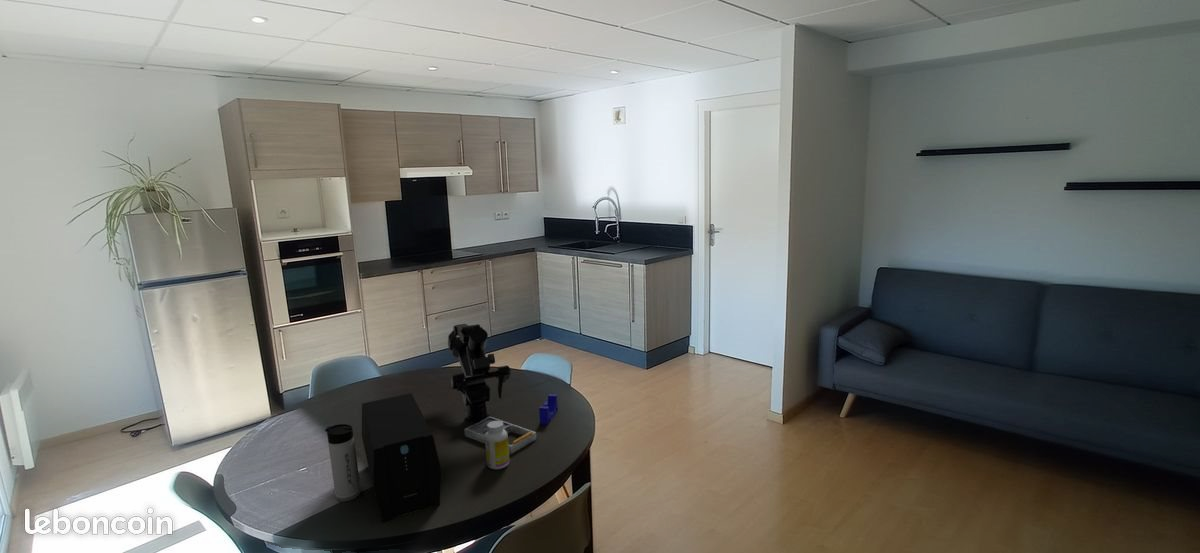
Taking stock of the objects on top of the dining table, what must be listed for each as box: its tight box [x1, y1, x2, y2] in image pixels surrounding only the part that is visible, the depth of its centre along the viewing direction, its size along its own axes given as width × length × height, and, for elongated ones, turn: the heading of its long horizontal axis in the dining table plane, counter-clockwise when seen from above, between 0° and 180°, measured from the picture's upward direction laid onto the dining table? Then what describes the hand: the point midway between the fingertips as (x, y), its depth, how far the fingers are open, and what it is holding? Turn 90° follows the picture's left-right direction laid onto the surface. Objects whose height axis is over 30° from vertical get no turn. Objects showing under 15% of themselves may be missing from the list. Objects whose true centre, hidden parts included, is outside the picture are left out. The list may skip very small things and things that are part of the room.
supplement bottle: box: [485, 421, 510, 470], centre depth 160 cm, size 7×7×13 cm
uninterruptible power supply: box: [361, 392, 442, 523], centre depth 151 cm, size 16×34×20 cm, turn 28°
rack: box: [463, 416, 537, 455], centre depth 177 cm, size 22×11×3 cm, turn 53°
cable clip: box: [538, 393, 559, 425], centre depth 192 cm, size 12×4×6 cm, turn 169°
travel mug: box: [325, 423, 362, 502], centre depth 146 cm, size 6×7×20 cm
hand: (486, 400), depth 173 cm, fingers open, 9 cm apart
